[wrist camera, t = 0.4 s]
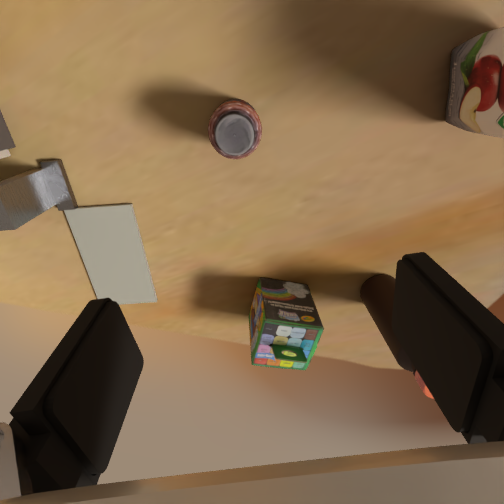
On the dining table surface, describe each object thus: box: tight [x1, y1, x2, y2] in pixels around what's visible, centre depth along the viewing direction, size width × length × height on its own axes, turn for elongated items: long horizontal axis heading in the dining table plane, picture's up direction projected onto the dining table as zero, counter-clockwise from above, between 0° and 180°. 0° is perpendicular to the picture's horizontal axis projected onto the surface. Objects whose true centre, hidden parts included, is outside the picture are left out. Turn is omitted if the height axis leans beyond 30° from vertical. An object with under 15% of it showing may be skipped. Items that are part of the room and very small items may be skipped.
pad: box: [64, 204, 157, 305], centre depth 49 cm, size 18×10×1 cm, turn 4°
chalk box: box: [249, 277, 324, 370], centre depth 48 cm, size 9×9×15 cm
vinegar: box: [360, 275, 434, 399], centre depth 45 cm, size 7×7×20 cm
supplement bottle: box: [208, 99, 262, 159], centre depth 35 cm, size 6×6×11 cm
